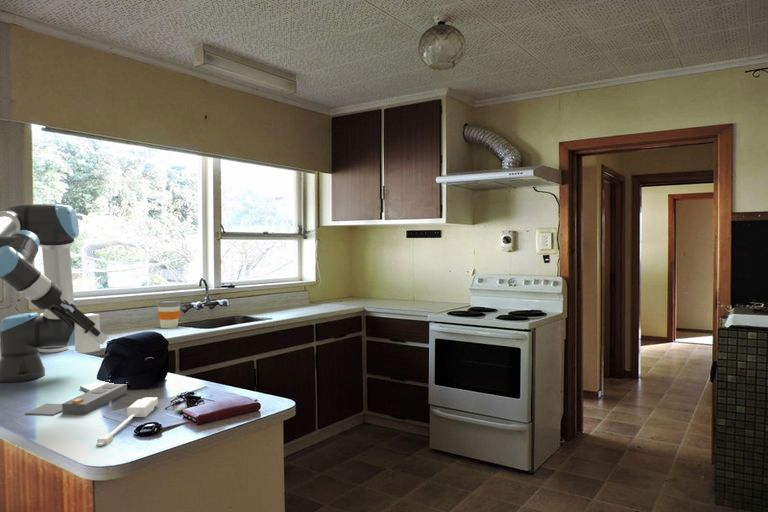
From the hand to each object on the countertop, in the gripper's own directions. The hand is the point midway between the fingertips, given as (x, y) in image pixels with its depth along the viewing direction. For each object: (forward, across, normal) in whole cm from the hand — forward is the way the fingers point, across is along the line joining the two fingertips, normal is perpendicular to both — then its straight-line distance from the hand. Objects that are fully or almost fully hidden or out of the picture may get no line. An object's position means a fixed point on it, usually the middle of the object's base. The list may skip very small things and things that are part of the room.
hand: (99, 339), depth 167 cm
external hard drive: (+22, -17, -8) cm, 29 cm away
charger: (-1, 0, -5) cm, 5 cm away
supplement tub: (+35, -95, +5) cm, 101 cm away
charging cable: (+11, +24, -18) cm, 32 cm away
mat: (+6, -6, -23) cm, 24 cm away
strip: (+17, -4, -12) cm, 21 cm away
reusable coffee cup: (+82, -108, +53) cm, 146 cm away
